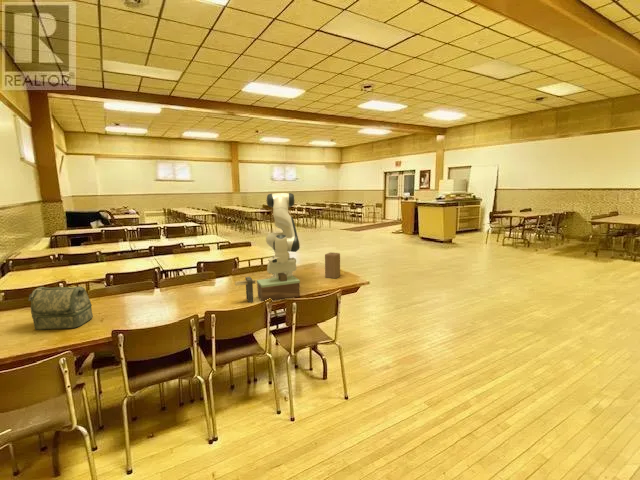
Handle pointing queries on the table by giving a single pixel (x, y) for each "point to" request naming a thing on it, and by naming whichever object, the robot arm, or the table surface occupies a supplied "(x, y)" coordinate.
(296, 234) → the robot arm
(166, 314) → the table surface
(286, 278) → the lid
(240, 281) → the bolt
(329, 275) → the wooden block
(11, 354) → the table surface
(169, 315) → the table surface
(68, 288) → the lunch bag
